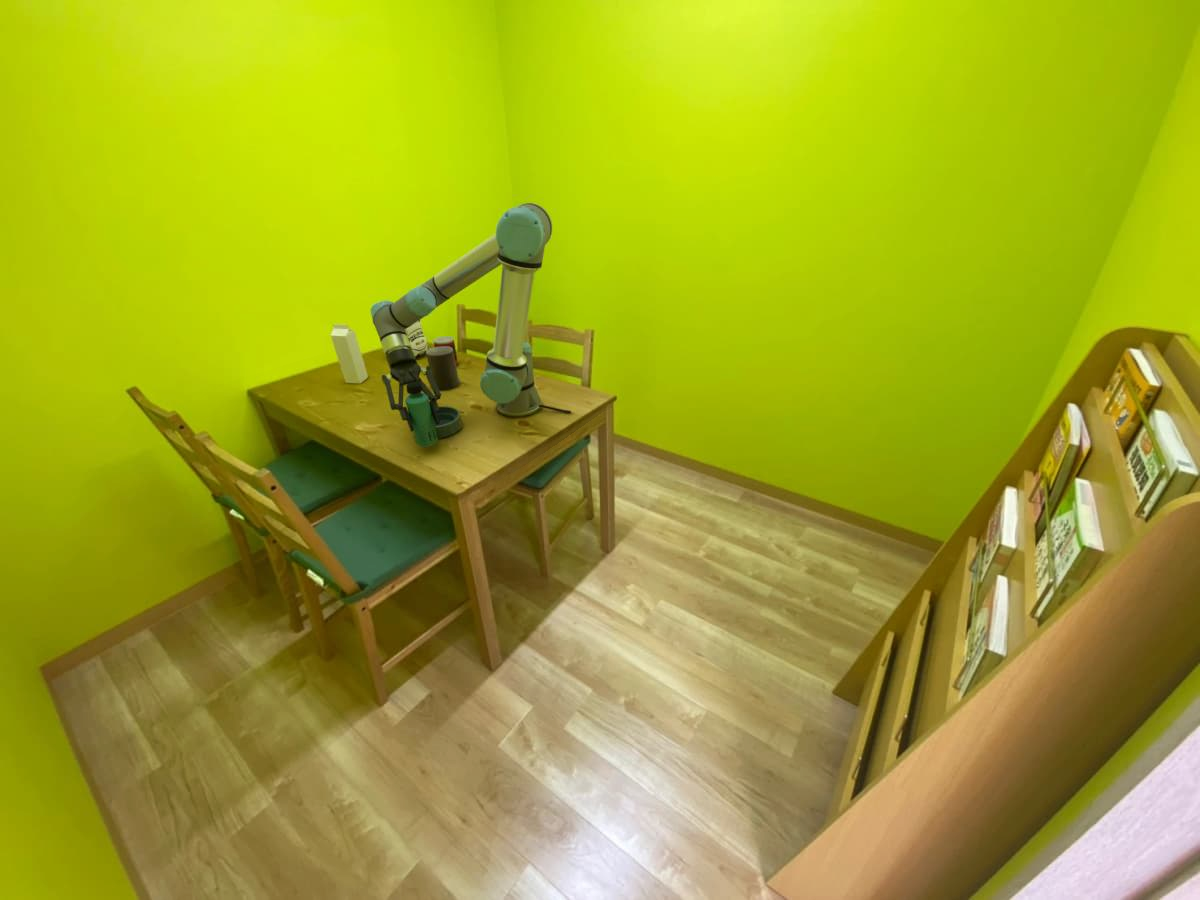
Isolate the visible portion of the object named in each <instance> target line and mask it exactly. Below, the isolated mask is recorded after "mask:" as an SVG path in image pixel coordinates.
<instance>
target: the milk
mask: <svg viewBox="0 0 1200 900" xmlns="http://www.w3.org/2000/svg"><path fill="white" fill-rule="evenodd" d="M332 327H333V329H332V331H331V334H330V338H331V341H332V344H333V348H334V351H335V355H336V357H337V360H338V362H339V363H338V364H339V366H340V369H341V372H342V376H343V378H344V382H345V384H358V385H359V384H360V385H361V384H362V383H363V382H364V381H365V380H367V379H368V378H369V376H368V372H367V368H366V365H365V362H364V361H365V360H364V358H363V355H362V351H361V348H360V344H359V341H358V337H357V334H356V331H355V330H353V329H350V327H349V325H348V324H337V323H336V324H335V323H334V324H332Z"/></svg>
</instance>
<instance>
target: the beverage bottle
mask: <svg viewBox="0 0 1200 900" xmlns="http://www.w3.org/2000/svg"><path fill="white" fill-rule="evenodd" d="M405 387H406V393H407V394H408V395H407V397H406V398H405V400H404V401H405V404H406V407H407V410H408V413H409V416H410V419H411V421H412V424H413V427H414V431H411V432H412V433H413V434H412V436H413V438H414V442H415V444H416V445H417V446H418V447H420V448H421V447H422V448H427V447H431V446H433V445H436V444H437V443H438V440H439V438H438V437H437V433H436V432H437V431H436V427H435V424H434V420H433V415H432V411H431V407H430V403H429V402H430V400H429V397H428V396H427V395H426V394H424V393H423V392H422V391H423V388H422V386H421V383H419V382H411V383H409V384H406V386H405Z"/></svg>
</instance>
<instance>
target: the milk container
mask: <svg viewBox="0 0 1200 900" xmlns="http://www.w3.org/2000/svg"><path fill="white" fill-rule="evenodd" d="M405 331H406V334H407V337H408V340H409V342H410V345H411V347H412V351H413V353H414V356H415V359H416V358H419V357H422V356H423V355H425V354H426V351H427V350H429V348H428V347H429V346H428V339H427V337H426V335H425V334H424V331H423V326H422V322H421V319H420V320H419V321H417V322H416V323H414V324H412V325H411V326H410V327H408V328H407V329H405Z"/></svg>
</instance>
